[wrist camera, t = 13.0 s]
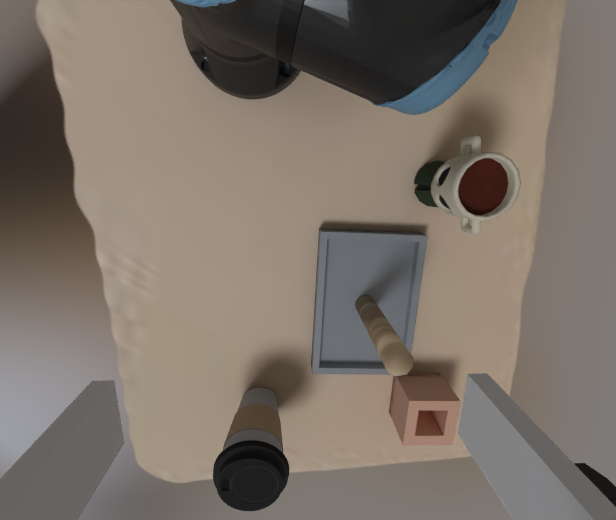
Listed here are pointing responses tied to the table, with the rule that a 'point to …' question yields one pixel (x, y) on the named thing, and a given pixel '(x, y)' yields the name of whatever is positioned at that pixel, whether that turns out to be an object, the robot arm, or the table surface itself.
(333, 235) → the tray
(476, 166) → the character mug
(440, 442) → the pink square tube
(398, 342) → the dowel
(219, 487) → the coffee cup
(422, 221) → the table surface
